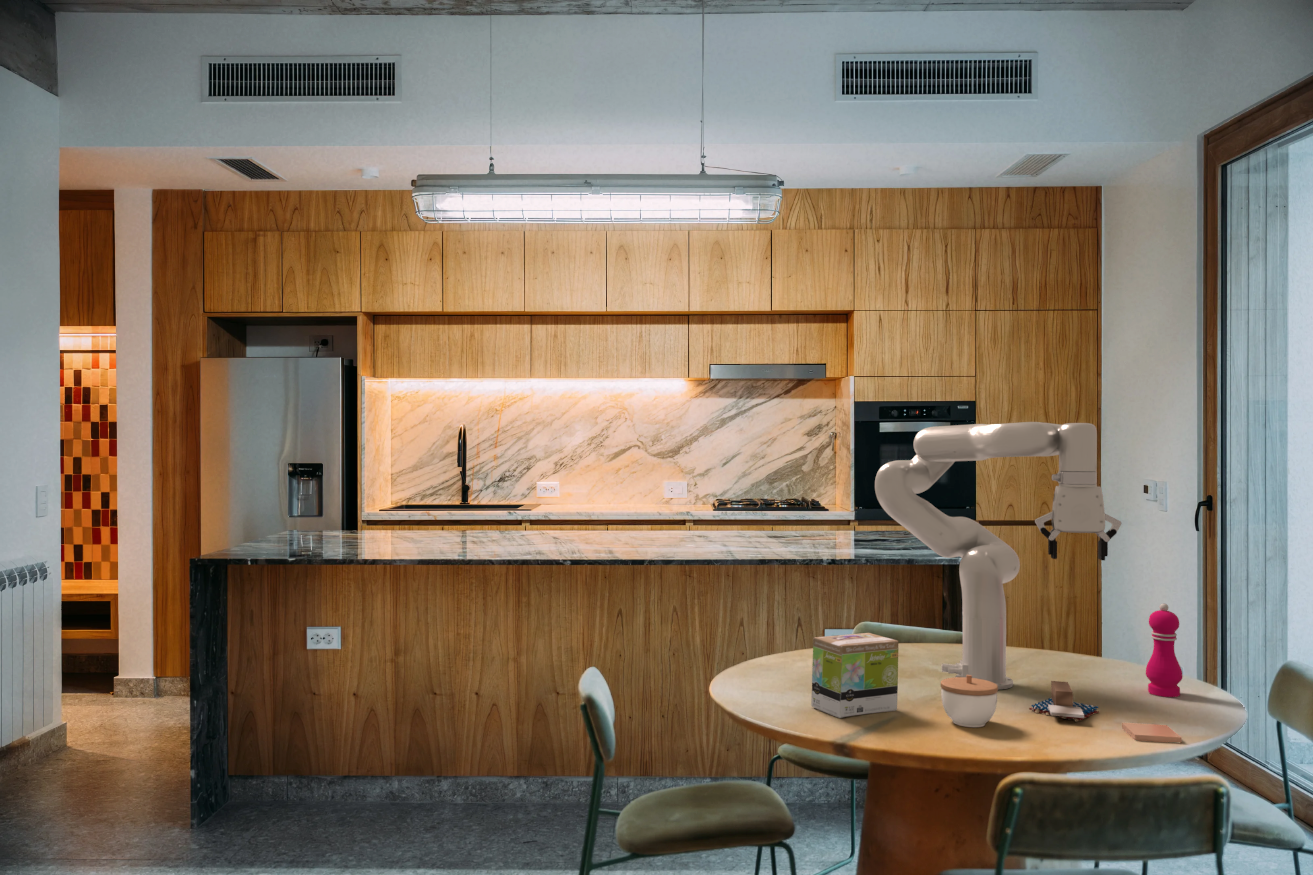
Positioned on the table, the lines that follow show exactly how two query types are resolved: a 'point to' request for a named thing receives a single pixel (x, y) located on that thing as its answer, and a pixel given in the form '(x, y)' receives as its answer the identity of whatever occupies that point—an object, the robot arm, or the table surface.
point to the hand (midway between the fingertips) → (1077, 559)
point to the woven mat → (1044, 709)
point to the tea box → (854, 674)
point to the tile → (1151, 732)
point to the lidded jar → (969, 700)
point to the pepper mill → (1164, 654)
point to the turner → (1063, 701)
